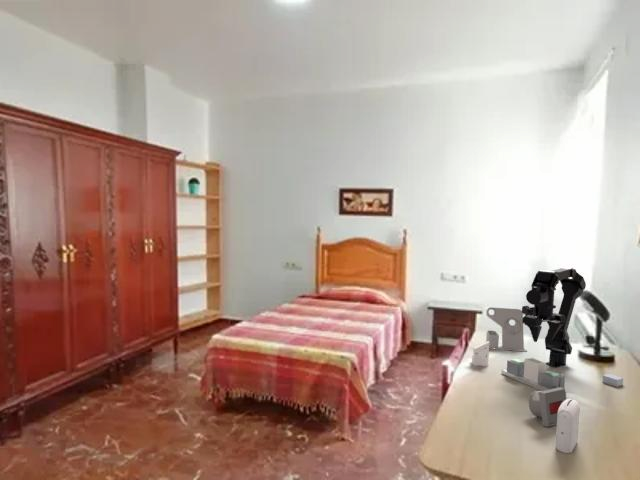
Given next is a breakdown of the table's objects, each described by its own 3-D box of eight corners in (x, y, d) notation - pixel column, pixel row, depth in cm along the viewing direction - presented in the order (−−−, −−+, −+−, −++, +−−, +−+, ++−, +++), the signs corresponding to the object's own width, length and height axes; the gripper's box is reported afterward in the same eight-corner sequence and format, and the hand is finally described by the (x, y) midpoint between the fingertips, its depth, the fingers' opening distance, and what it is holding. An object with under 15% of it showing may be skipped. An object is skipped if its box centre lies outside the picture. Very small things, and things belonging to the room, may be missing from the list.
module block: (530, 375, 171) (532, 357, 170) (544, 381, 165) (546, 362, 165) (523, 377, 169) (524, 358, 169) (537, 382, 164) (538, 363, 163)
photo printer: (571, 455, 117) (574, 409, 116) (553, 449, 120) (556, 404, 119) (579, 441, 125) (582, 398, 124) (562, 435, 128) (564, 393, 127)
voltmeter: (569, 433, 129) (571, 400, 129) (526, 423, 135) (528, 391, 134) (568, 400, 153) (570, 372, 152) (531, 393, 158) (533, 366, 157)
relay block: (616, 390, 163) (622, 388, 165) (617, 379, 163) (623, 378, 165) (602, 385, 167) (608, 384, 169) (603, 375, 167) (608, 373, 169)
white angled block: (499, 360, 185) (489, 342, 185) (477, 371, 186) (467, 352, 186) (496, 357, 188) (487, 339, 188) (475, 368, 190) (465, 350, 190)
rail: (514, 371, 180) (514, 355, 179) (564, 391, 160) (565, 374, 160) (501, 373, 177) (502, 358, 176) (551, 394, 157) (552, 377, 156)
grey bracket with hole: (487, 348, 209) (490, 310, 208) (484, 342, 219) (486, 306, 218) (527, 352, 206) (529, 313, 205) (522, 345, 216) (524, 309, 215)
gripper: (543, 296, 189) (541, 333, 190) (512, 299, 181) (509, 337, 182) (568, 302, 179) (565, 340, 180) (536, 305, 171) (533, 345, 172)
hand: (543, 340), depth 178 cm, fingers open, 9 cm apart
